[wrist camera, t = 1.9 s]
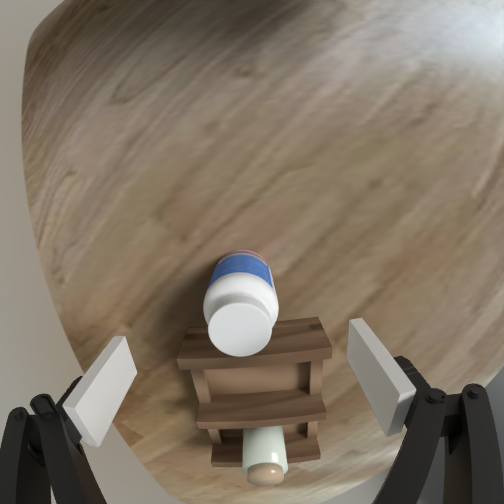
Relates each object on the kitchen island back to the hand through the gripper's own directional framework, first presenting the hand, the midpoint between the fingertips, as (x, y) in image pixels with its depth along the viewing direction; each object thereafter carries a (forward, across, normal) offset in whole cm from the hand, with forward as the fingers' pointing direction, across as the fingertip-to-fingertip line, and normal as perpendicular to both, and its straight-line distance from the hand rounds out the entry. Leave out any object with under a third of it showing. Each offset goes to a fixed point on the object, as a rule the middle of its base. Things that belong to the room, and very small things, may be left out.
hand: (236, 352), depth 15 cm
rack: (+12, +1, -14) cm, 18 cm away
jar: (+11, +1, -18) cm, 21 cm away
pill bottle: (+12, 0, 0) cm, 12 cm away
